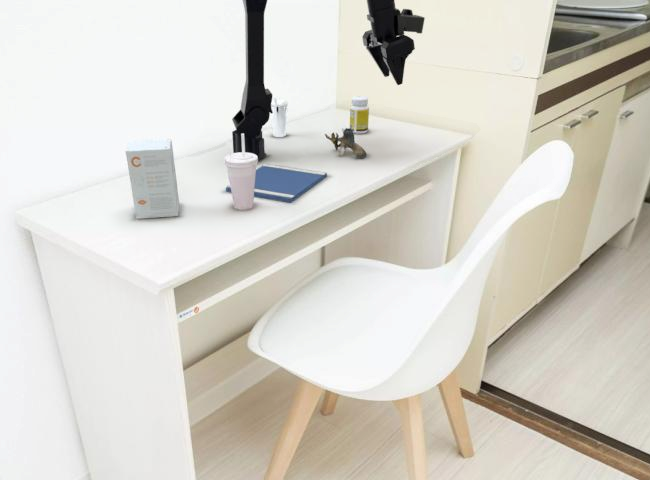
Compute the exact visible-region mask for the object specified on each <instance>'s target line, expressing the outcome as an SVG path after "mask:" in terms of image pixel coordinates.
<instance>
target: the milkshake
mask: <svg viewBox="0 0 650 480" xmlns="http://www.w3.org/2000/svg"><path fill="white" fill-rule="evenodd" d="M271 109H272V112H273V113H270V117H271V125H272V126H271V127H272V136H273V137H274V138H284V137H287V127H288V126H287V125H288V109H289V102H288V101H287V99H286V98H285V99H284V98H281V97H280V98H276V97H275V98H272V102H271Z"/></svg>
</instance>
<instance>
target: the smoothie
mask: <svg viewBox="0 0 650 480" xmlns="http://www.w3.org/2000/svg"><path fill="white" fill-rule="evenodd" d="M241 140H242V152H238V153H229V154H227V155H225V156H224V157H223V160H224V161H223V163H224V164H223V165H225V166H226V171H227V176H228V181H229V185H230V187H231V192H230V193H231V198H232V202H233V207H234V208H235V209H236V210H239V211H245V210H250V209H252V208H254V201H255V199H254V198H255V196H254V188H255V176H256V170H257V164H258V163H259V160H258V156H257V155H255V154H253V153H247V152H245V140H244V133H242V134H241Z"/></svg>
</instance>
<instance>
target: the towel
mask: <svg viewBox="0 0 650 480" xmlns="http://www.w3.org/2000/svg"><path fill="white" fill-rule="evenodd" d="M326 177H328V172H325V171H318V170H312V169H311V170H310V169H303V168H298V167H290V166H284V165H277V164H272V163H271V164H270V163H263V164H262V166H260V167H258V168H256V176H255V188H254V197H256V198H262V199H267V200H273V201H279V202H285V203H290V204H291V203H293V202H294V201H295V200H296V199H297V198H299V197H300V196H302V195H303V194H305V193H306V192H308V191H309V190H310V189H311V188H313V187H314V186H316V185H317V184H318V183H320V182H321V181H322V180H325V178H326ZM225 192H228V193H232V192H231V187H230V184H229V185H227V186H226V187H225Z"/></svg>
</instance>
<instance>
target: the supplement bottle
mask: <svg viewBox="0 0 650 480" xmlns="http://www.w3.org/2000/svg"><path fill="white" fill-rule="evenodd" d="M368 103H369V98H368V97H367V96H361V95H360V96H358V95H357V96H353V97H352V98H351V105H350V108H349V129H350V128H351V129H352V131H353V133H354V134H357V135H358V134H360V135H361V134H366V133H368V131H369V118H370V117H369V114H370V106H369V105H368Z"/></svg>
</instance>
